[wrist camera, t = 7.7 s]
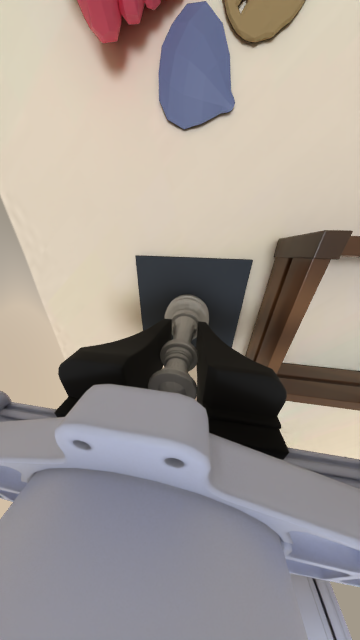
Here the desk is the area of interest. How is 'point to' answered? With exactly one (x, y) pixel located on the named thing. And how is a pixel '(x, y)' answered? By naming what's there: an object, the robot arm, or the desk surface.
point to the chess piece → (180, 347)
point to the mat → (194, 289)
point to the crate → (288, 311)
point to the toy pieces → (194, 49)
